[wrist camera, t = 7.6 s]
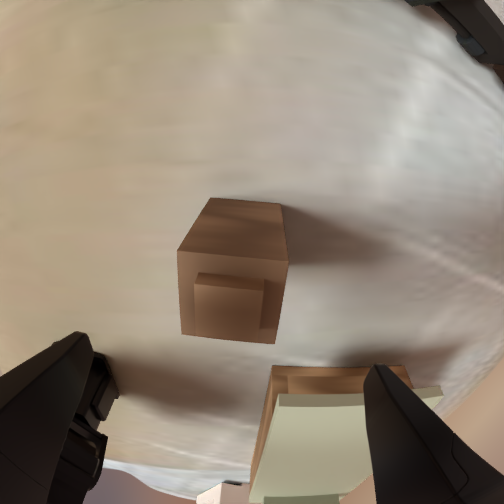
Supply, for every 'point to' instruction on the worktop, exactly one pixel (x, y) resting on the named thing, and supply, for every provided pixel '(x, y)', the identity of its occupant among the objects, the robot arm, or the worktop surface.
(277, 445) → the lid
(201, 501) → the bracket
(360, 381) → the brown box
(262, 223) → the brown stepped square block
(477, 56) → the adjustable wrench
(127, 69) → the worktop surface
